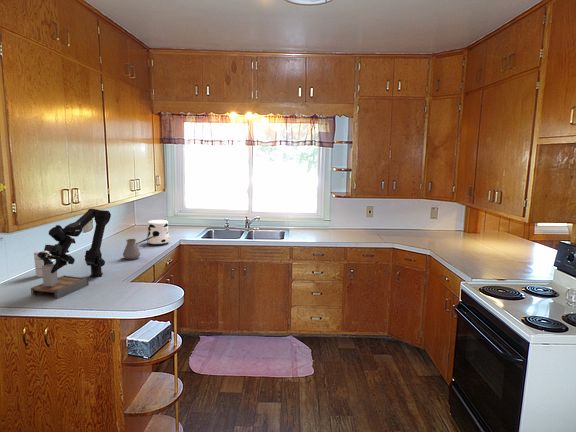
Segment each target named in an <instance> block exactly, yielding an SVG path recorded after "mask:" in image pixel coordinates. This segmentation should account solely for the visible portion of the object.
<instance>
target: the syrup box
mask: <svg viewBox="0 0 576 432" xmlns="http://www.w3.org/2000/svg"><path fill="white" fill-rule="evenodd" d="M39 252H47V253H48V254H49V255H51V254H50V253H49V251H44V249H43V250H39V251H36V252H33V258H34V259H33V260H34V268H35V270H34V271H35V277H38V278H43V273H42V266H44V261H43V260H42V259H40V258H39V257H38V256H37V255H38V253H39Z"/></svg>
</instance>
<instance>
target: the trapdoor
mask: <svg viewBox="0 0 576 432" xmlns="http://www.w3.org/2000/svg"><path fill="white" fill-rule="evenodd" d="M80 280H82V279H75V278H66V277H62V278H60V279H58V283H57V284H55V285H52V286H46V285H41V286H39V287H36V288H34V290H36V291H44V292H45V293H51V294H55V293H54V291H55V290H58V289H60V288H63V287H65V286H68V285H70V284H72V283H75V282H77V281H80ZM44 292H43V293H44Z"/></svg>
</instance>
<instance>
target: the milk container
mask: <svg viewBox="0 0 576 432" xmlns="http://www.w3.org/2000/svg"><path fill="white" fill-rule="evenodd" d="M152 236H154V237H155V238H154V237H152ZM150 237H152V238H150ZM147 238H150V239H149V240H146V241H147V243H148V244H149V245H154V246H159V245H166V244H168V243H169V242H170V239H171V237H170V234H169V221H168V220H165V219H151V220H149V221H147V236H146V239H147Z"/></svg>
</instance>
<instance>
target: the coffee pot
mask: <svg viewBox="0 0 576 432" xmlns="http://www.w3.org/2000/svg"><path fill="white" fill-rule="evenodd" d="M152 237H154V236H152ZM152 237H150V238H152ZM150 238H147V237H146V238H145V239H143V240H140V241H138V242H137V239H136V238H128V239H125V240H126V241H125V242H126V245H125V248H124V250H123V252H122V256H123V258H124V259H126V260H137V259H138V258H139V257H140V256H141V251H140V249H139V247H138V244H140V243H141V244H142V243H143V242H146V241H147V240H149V239H150ZM154 238H155V237H154Z"/></svg>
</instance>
